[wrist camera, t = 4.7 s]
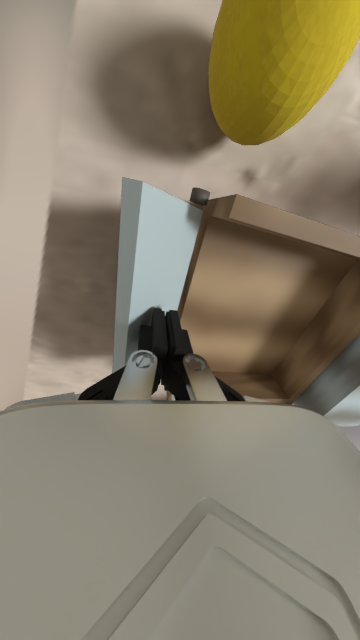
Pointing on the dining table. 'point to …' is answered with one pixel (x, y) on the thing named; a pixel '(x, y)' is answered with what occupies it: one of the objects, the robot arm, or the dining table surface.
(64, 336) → the dining table surface
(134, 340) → the panel
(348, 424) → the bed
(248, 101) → the lemon
